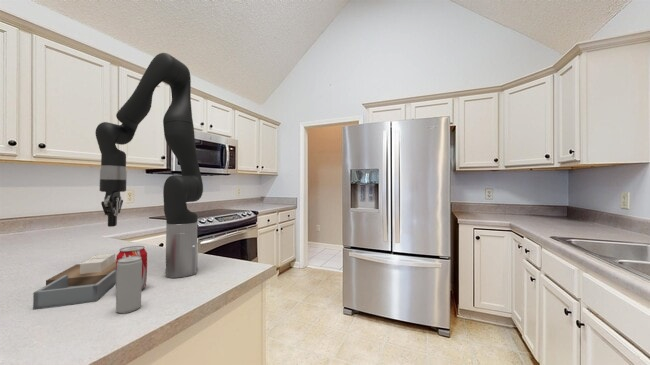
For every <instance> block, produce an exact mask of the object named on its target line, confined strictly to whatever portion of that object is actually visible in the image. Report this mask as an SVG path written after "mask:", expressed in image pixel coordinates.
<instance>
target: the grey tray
mask: <svg viewBox="0 0 650 365" xmlns="http://www.w3.org/2000/svg"><path fill="white" fill-rule="evenodd" d="M114 286H116V270H114V271H112V272H111V273H109V274H108V275H107V276H106V277H104V278H103V279H102V280H100V281H99V282H98V283H96V284H89V285H80V286H71V287H68V275H64V276H62V277H61V278H59V279H57V280H55V281H53V282H52V283H50V284H48V285H46V284H45V286H42V287H41V288H40V289H38V290H36V291H34V292H33V299H32V301H33V302H32V303H33V304H32V306H33V307H32V309H33V310H41V309H49V308H57V307H64V306H72V305H79V304H86V303H87V304H88V303H95V302H99V300H100V299H101V298H103V296H105V294H106V293H108V292H109V291H110V290H111V289H112V288H113V287H114Z"/></svg>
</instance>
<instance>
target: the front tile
mask: <svg viewBox="0 0 650 365" xmlns="http://www.w3.org/2000/svg"><path fill="white" fill-rule="evenodd" d="M107 267H108V258H102V259H90V258H89V259H86V260H85V261H83V262H81V263H80V274H85V273H96V272H102V271H103V270H104V269H106V268H107Z"/></svg>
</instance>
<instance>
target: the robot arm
mask: <svg viewBox="0 0 650 365" xmlns="http://www.w3.org/2000/svg"><path fill="white" fill-rule="evenodd" d="M191 80H192V79H191V73H190V69H189V67H188V66H187V65H185V64H184V63H183V62H182V61H180V60H179V59H177V58H176V57H174V56H172V55H171V54H169V53H166V52H160V53H158V54H156V55H155V56H154V57H153V58H152V60H151V61H150V63H149V65H148V66H147V68H146V70H145V71H144V73H143V75H142V77H141V78H140V81H139V82H138V83H137V86H136V87H135V90H134V91H133V93H132V94H131V96H130V97H129V98H128V99H127V101H126V102H125V103H124V104H123V105H122V106H121V107H120V108H119V109H118V111H117V112H116V115H115V117H116V119H117V120H118V122H120V123H121V124H116V123H112V122H107V121H103V122H100V123H99V124H97V127H96V128H95V132H94V133H95V139H96V142H97V144H98V148H99V151H100V155H101V159H100V171H99V191H100V192H101V193H104V194H105V196H104V198H103V200H102V201H101V202H100V205H101V207H102V210H103V213H104V216H106V217H107V227H109V228H111V227H112V228H114V227H115V226H117V225H118V216H119V214H120V213H121V211H122V206H123V202H124V200H123V199H122V196H121V192H123V193H124V192H126V191H127V176H128V175H127V173H128V171H127V154H126V152H125V151H123V150H121V149H119V148H118V147H117V145H120V146H121V145H123V146H124V145H126V144H129V143H130V142H132V140H133V139H134V136H135V135H136V134H135V133H136V132H137V129H138V127H139V125H140V123H141V122H142V121H143V120H144V119H145V118H146V117H147V116H148V114H150V111H151V108H152V102H153V95H154V92H155V90H156V88H157V87H158V86H159V85H160V84H161V83H165V84H167V85H169V87H170V93H171V101H170V102H171V103H170V105H169V107H168V108H167V110H166V112H165V113H164V116H163V119H162V123H163V126H162V127H163V134H164V140H165V142H166V144H167V147H169V149H170V151H172V153H173V154H174V156H175V159H177V161H178V163H179V166H180V171H181V174H173V175H170V176H168V177H167V178H166V180H165V182H164V183H163V191H162V192H163V213H164V217H165V219H166V220H165V221H166V223H165V224H166V225H165V227H166V228H165V277H166V278H171V279H177V278H178V279H179V278H184V277H189V276H193V275H196V274H197V272H198V261H199V260H198V255H199V254H198V250H199V249H198V248H199V244H198V214H197V213H196V212H193V211H191V210H189V209H188V205H187V203H193V202H198V201H199V200H200V199H201V198H202V195H203V193H204V184H203V178H202V175H201V174H202V173H201V169H200V166H199V161H198V160H199V159H198V154H197V148H196V147H197V145H196V140H195V139H196V137H195V136H196V135H195V127H194V121H193V113H192V112H193V111H192V110H193V109H192V102H191V99H192V97H191V96H192V95H191V88H192V87H191V86H192V85H191V84H192V81H191Z"/></svg>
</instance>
